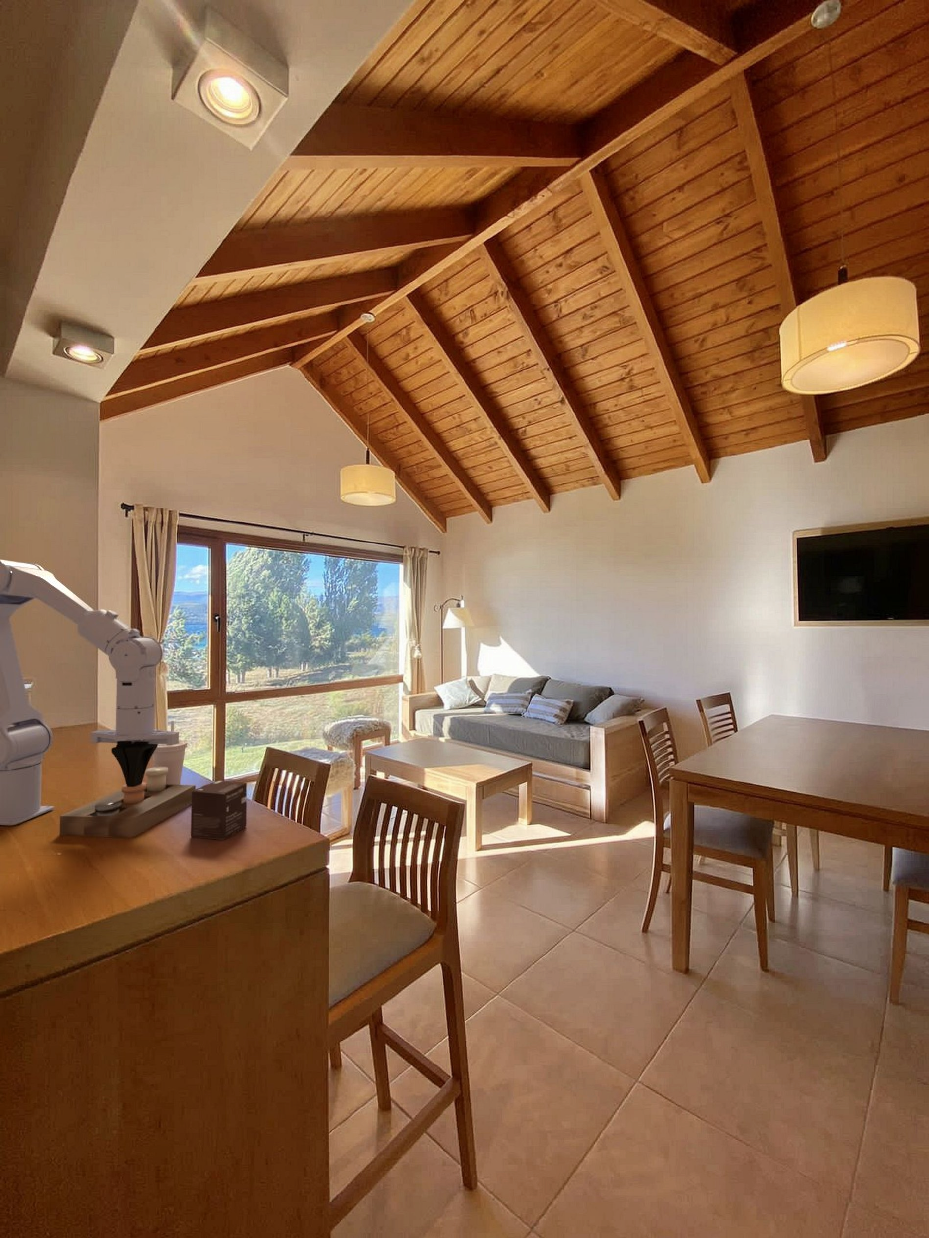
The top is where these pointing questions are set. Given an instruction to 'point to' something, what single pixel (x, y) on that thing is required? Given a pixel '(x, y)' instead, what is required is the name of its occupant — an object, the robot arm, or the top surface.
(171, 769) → the smoothie
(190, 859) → the top surface
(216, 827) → the box
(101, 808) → the plug metal
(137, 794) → the plug terracotta
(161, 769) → the plug cream
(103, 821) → the socket board
